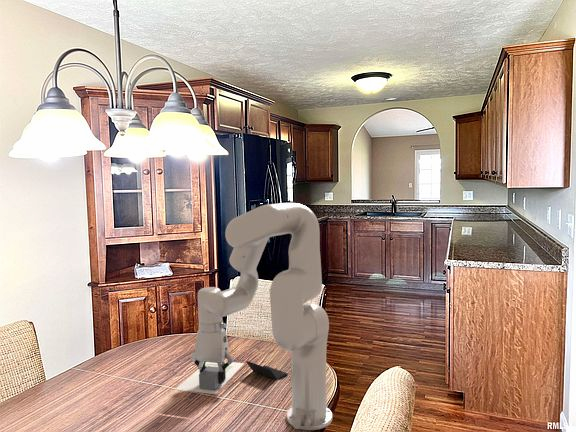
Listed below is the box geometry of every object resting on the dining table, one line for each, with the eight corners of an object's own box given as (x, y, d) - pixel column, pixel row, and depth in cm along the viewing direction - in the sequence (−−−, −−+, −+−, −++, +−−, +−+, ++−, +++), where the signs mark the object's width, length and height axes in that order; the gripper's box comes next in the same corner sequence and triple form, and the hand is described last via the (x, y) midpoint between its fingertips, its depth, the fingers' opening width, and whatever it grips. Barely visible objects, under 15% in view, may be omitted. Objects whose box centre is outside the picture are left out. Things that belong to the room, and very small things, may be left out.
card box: (215, 389, 135) (214, 375, 135) (199, 388, 137) (198, 374, 136) (225, 379, 143) (225, 365, 143) (210, 377, 144) (210, 364, 144)
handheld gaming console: (290, 368, 148) (277, 351, 143) (283, 388, 143) (270, 371, 138) (263, 366, 154) (249, 350, 149) (255, 385, 150) (241, 369, 144)
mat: (215, 395, 133) (215, 393, 133) (175, 390, 137) (175, 388, 137) (244, 364, 156) (244, 363, 156) (208, 360, 160) (208, 359, 160)
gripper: (240, 324, 140) (241, 378, 141) (192, 321, 145) (194, 374, 146) (230, 331, 133) (232, 389, 134) (180, 328, 137) (183, 383, 139)
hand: (212, 380), depth 140 cm, fingers closed on card box, 5 cm apart
